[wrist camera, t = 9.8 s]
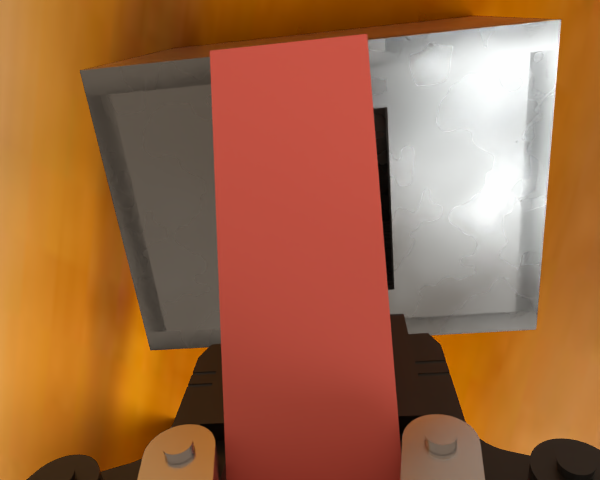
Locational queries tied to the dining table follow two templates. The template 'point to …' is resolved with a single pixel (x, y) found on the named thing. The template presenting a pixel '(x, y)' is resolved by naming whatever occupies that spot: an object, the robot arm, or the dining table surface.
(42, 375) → the dining table surface
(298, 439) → the red rectangular block
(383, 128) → the grey slotted box
